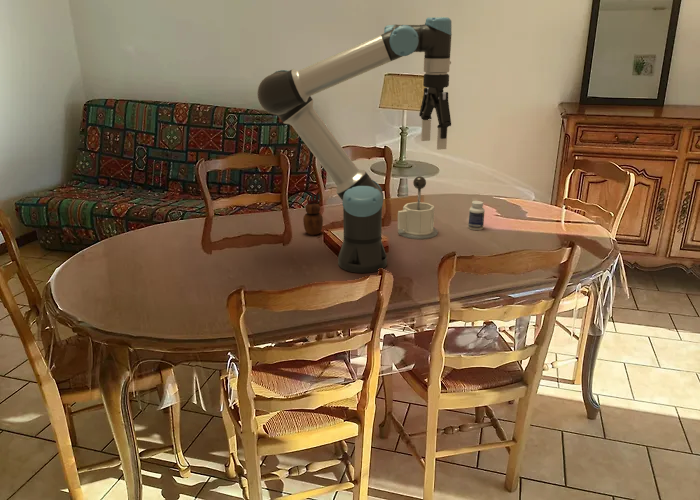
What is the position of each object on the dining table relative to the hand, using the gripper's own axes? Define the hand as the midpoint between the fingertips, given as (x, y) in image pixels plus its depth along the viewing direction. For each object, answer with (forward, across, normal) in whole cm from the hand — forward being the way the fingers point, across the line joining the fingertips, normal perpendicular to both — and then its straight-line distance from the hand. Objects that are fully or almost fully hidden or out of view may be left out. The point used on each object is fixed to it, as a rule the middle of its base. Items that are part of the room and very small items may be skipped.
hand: (433, 144), depth 182 cm
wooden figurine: (+35, +25, +34) cm, 55 cm away
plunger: (+33, +17, -2) cm, 37 cm away
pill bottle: (+35, +16, -24) cm, 45 cm away
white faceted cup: (+35, +17, -2) cm, 39 cm away
